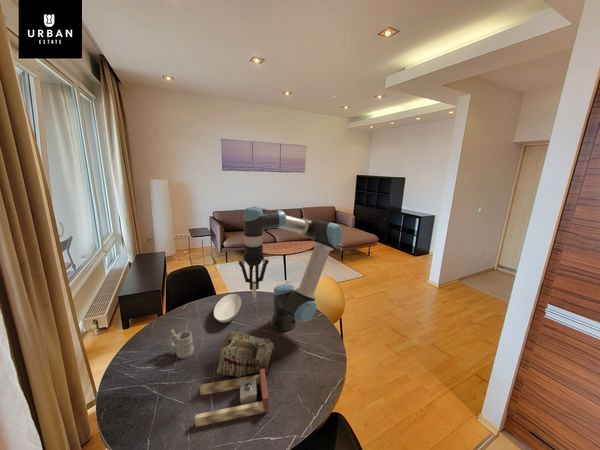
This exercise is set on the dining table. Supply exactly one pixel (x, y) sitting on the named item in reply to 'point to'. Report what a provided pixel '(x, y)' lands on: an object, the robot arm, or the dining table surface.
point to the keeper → (248, 392)
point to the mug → (182, 344)
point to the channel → (238, 410)
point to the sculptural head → (244, 355)
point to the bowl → (227, 308)
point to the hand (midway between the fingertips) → (254, 295)
